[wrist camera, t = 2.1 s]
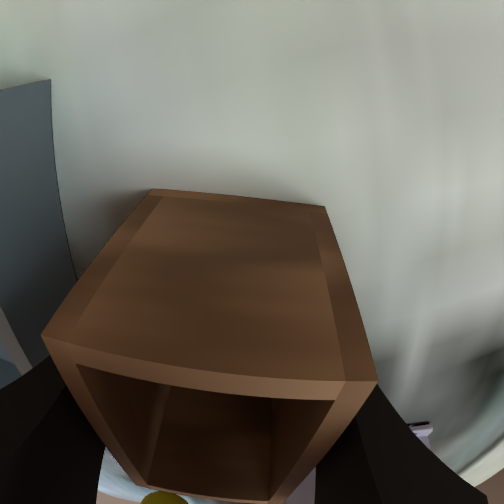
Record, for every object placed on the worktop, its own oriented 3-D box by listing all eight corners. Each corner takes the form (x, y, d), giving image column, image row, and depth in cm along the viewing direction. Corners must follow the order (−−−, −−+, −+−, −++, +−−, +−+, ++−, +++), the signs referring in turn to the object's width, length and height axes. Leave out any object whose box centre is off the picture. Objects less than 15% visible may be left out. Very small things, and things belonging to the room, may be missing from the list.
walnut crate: (324, 204, 9) (378, 380, 4) (281, 375, 13) (281, 504, 8) (153, 187, 9) (40, 335, 4) (169, 361, 13) (136, 484, 8)
